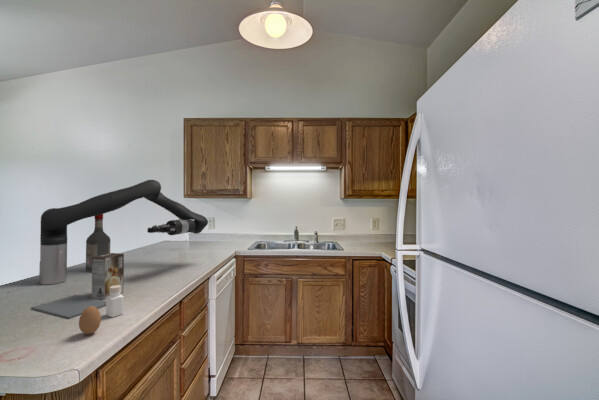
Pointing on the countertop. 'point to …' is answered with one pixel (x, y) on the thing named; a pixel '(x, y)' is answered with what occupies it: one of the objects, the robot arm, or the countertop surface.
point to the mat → (69, 306)
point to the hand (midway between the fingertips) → (149, 230)
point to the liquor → (97, 243)
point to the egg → (90, 320)
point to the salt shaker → (114, 302)
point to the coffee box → (107, 274)
